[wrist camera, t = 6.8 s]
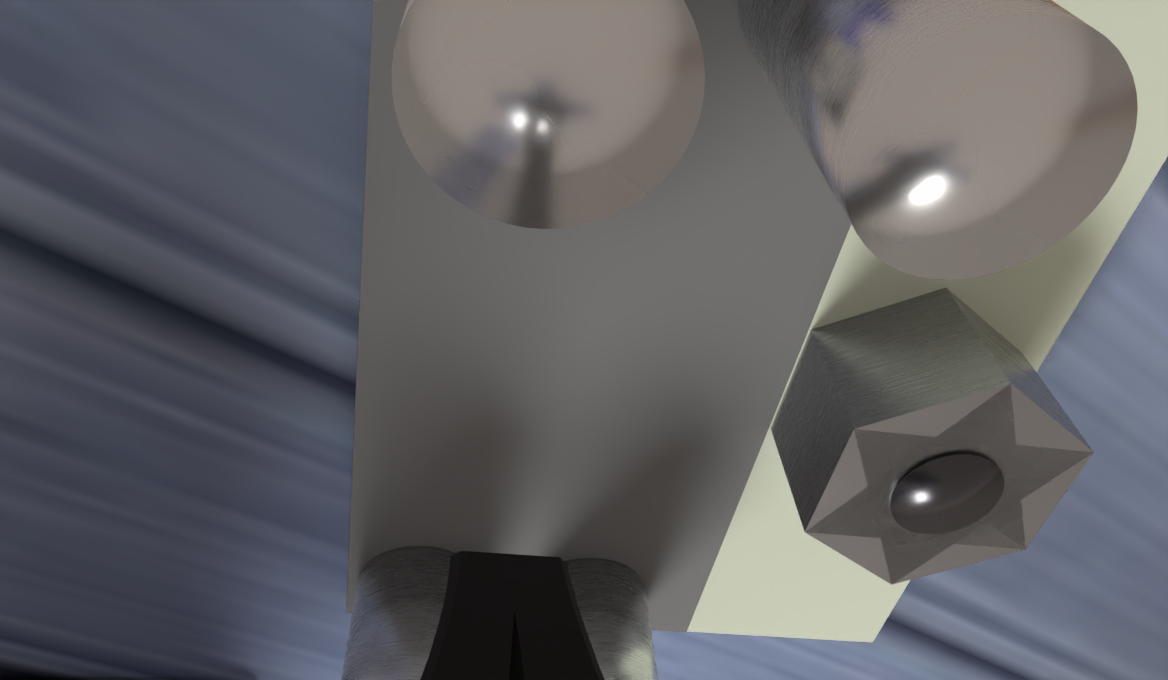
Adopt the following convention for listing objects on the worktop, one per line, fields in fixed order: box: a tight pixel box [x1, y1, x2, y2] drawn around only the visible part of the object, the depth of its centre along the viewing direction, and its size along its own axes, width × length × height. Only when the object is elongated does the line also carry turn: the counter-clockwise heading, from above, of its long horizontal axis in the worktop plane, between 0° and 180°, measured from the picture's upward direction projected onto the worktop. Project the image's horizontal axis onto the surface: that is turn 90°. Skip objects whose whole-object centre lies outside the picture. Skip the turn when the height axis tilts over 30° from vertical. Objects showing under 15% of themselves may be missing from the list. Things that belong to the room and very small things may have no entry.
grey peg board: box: [341, 0, 1138, 680], centre depth 14 cm, size 16×7×5 cm, turn 170°
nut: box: [771, 288, 1094, 585], centre depth 16 cm, size 4×5×3 cm
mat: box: [346, 0, 1168, 642], centre depth 16 cm, size 15×12×1 cm
